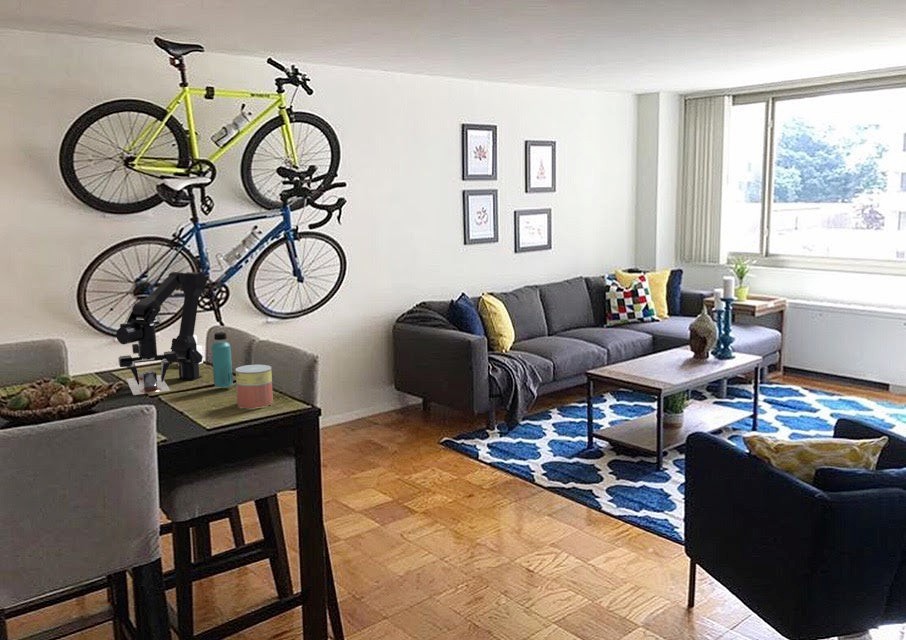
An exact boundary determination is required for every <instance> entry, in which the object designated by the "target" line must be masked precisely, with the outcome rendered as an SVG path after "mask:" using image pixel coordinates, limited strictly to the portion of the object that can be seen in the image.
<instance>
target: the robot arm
mask: <svg viewBox="0 0 906 640" xmlns="http://www.w3.org/2000/svg"><path fill="white" fill-rule="evenodd" d="M180 285H181V289H182V292H183V294H184V300H183V305H182V312H181V319H180V325H179V326H180V327H179V334H178V335H177V336H176V338H175V337H174V338H172V340H171V347H170V351H169V350H168V351H164V352H163V354H158V350H157V337H156V336H157V335H156V325H160V323H161V322H160V321H158V320H157V319H156V317H157V316H158V315H159V313H160V312H161V308H162V306H163V303H164V302H165V301H166V300H167V299H168V298H169V297H170V296H171V295H172V294H173V293H174V292H175V290H176V289H177V288H179V286H180ZM206 286H207V277H206V275H205V274H204V273H202V272H194V271H193V272H191V271H187V272H181V271H171V272H170V273H169V274H168V276H167V277H166V278H165V279H164V280H163V281H162V282H161V283H160V284H159V286H157V288H155V289H154V290H153V292H151V294H150V295H148V296H146V297H145V298H144V297H143V298H142V299H140V300H138V301H137V302H136V303H135V304H133V306H132V310H131V312H130V314H129V316H128V318H127V321H126V322H125V323H120V324H119V326H120V327H119V328H118V329H117V331H116V333H115V336H116V340H117V341H118V342H119V344H121V345H126V344H127V345H128V344H131V343H133V344H132V346H131V347H132V348H131V350H132V354H133V355H134V354H135V355H138V357H137V356H136V357H135V356H134V357H132V355H131V354H129V355H120V356H119V357H117V358H118V365H119V367H120V368H126V370H130V372H131V373H132V374H133V378H135V379H136V381H137V384H138V385H139V378H138V377H139V374H138V369H137V366H136V364H137V363H138V364H139V363H147V362H155V361H156V362H157V361H160V365H161V367H160V370H161V371H160V375H161V382H163V380H164V381H165V377H166V373H167V371H168V368H169V366H170V365H173V363H174V362H175V363H178V362H179V366H178V365H177V366H178V377H177V378H176V379H177V380H180V381H181V380H182V381H195V380H197V379H201V378H202V377H203V374H202V375H201V374H200V364H199V363H200V362H202V358H203V359H204V355H203V356H202V355H201V354H200V353H199V352H198V351H197V346H198V343H197V344H196V341H195V339H194V335H195V327H196V322H197V321H196V320H197V312H198V306H199V300H200V297H201V295H202V294H203V293H204V292H205V289H206ZM136 342H137V343H136Z"/></svg>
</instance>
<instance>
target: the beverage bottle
mask: <svg viewBox="0 0 906 640" xmlns="http://www.w3.org/2000/svg"><path fill="white" fill-rule="evenodd" d="M213 338H214V339H213V340H216V342H214V343H213V344H212V345H211V351H212V352H211V353H212V354H211V355H212V369H213V372H212V376H213V385H214V386H215V387H216V388H228V387H232V386H233V384H234V377H233V365H232V360H233V359H232V351H231V344H230V343H229V342H228V341H223V340H227V339H228V338H227V333H226V332H215V333H214V337H213Z"/></svg>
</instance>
